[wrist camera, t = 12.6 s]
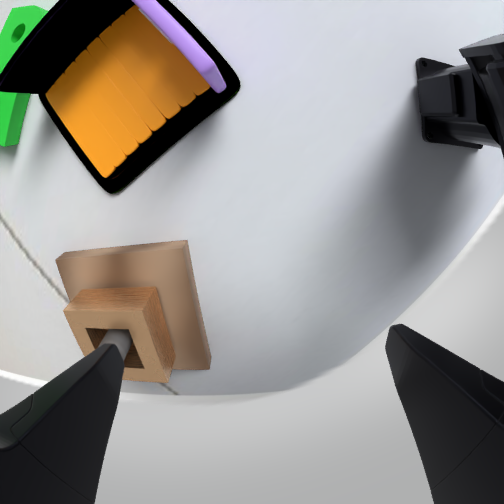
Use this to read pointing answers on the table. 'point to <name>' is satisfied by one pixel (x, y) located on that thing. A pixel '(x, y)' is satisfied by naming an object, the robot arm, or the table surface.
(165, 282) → the post stand
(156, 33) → the toy room diorama
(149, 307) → the wooden collar
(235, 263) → the table surface
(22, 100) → the mechanical part
